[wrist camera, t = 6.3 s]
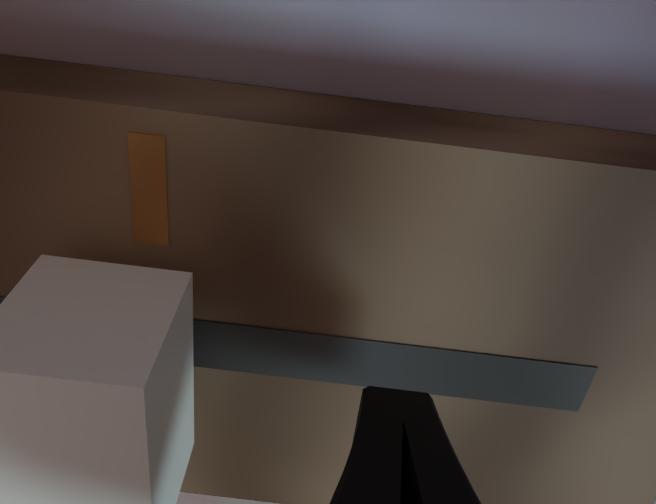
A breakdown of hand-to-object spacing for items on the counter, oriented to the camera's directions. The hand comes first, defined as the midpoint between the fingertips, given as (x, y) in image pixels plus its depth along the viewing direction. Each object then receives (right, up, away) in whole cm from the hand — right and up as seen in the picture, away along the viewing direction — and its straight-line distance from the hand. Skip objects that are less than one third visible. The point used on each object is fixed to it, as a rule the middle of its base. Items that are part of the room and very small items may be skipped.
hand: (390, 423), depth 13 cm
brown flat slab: (-2, +2, +3) cm, 4 cm away
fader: (-6, +1, +1) cm, 6 cm away
